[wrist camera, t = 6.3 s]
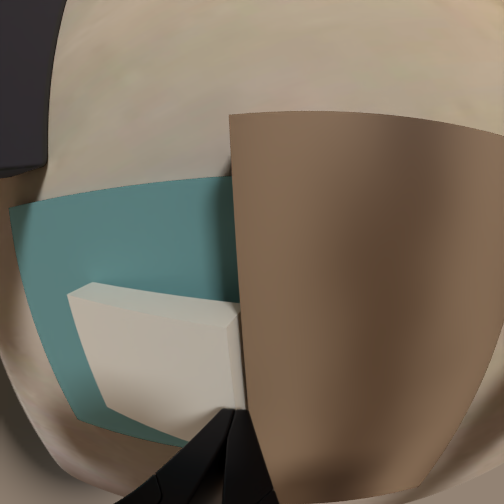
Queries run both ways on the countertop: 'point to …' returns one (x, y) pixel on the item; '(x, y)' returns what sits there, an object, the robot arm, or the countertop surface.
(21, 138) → the calculator
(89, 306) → the tile
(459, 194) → the wooden board
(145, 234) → the mat
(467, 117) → the countertop surface
